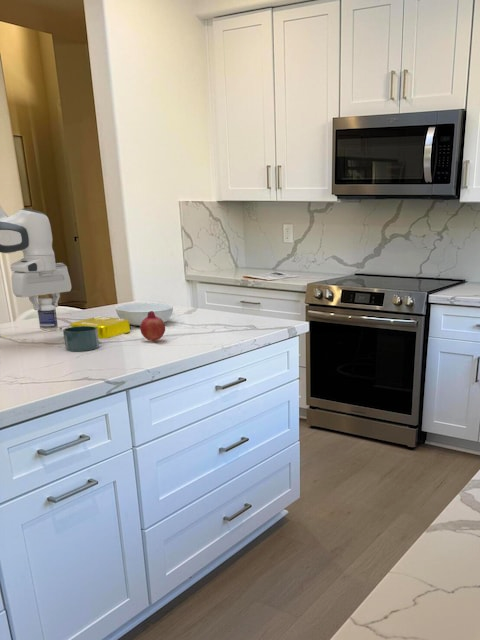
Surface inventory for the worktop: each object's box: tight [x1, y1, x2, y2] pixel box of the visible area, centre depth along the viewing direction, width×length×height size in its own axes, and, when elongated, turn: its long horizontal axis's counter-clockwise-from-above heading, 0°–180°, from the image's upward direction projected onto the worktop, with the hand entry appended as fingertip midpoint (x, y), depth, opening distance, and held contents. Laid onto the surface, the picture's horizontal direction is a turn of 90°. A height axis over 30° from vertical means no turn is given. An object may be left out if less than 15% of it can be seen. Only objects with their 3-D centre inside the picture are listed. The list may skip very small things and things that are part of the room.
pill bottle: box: [37, 297, 59, 332], centre depth 195 cm, size 5×5×10 cm
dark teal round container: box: [62, 326, 100, 352], centre depth 192 cm, size 10×10×6 cm
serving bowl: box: [115, 301, 174, 327], centre depth 231 cm, size 21×21×7 cm
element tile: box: [70, 315, 131, 340], centre depth 213 cm, size 15×15×5 cm
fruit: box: [139, 311, 166, 342], centre depth 202 cm, size 8×8×10 cm
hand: (46, 308), depth 195 cm, fingers closed on pill bottle, 5 cm apart
